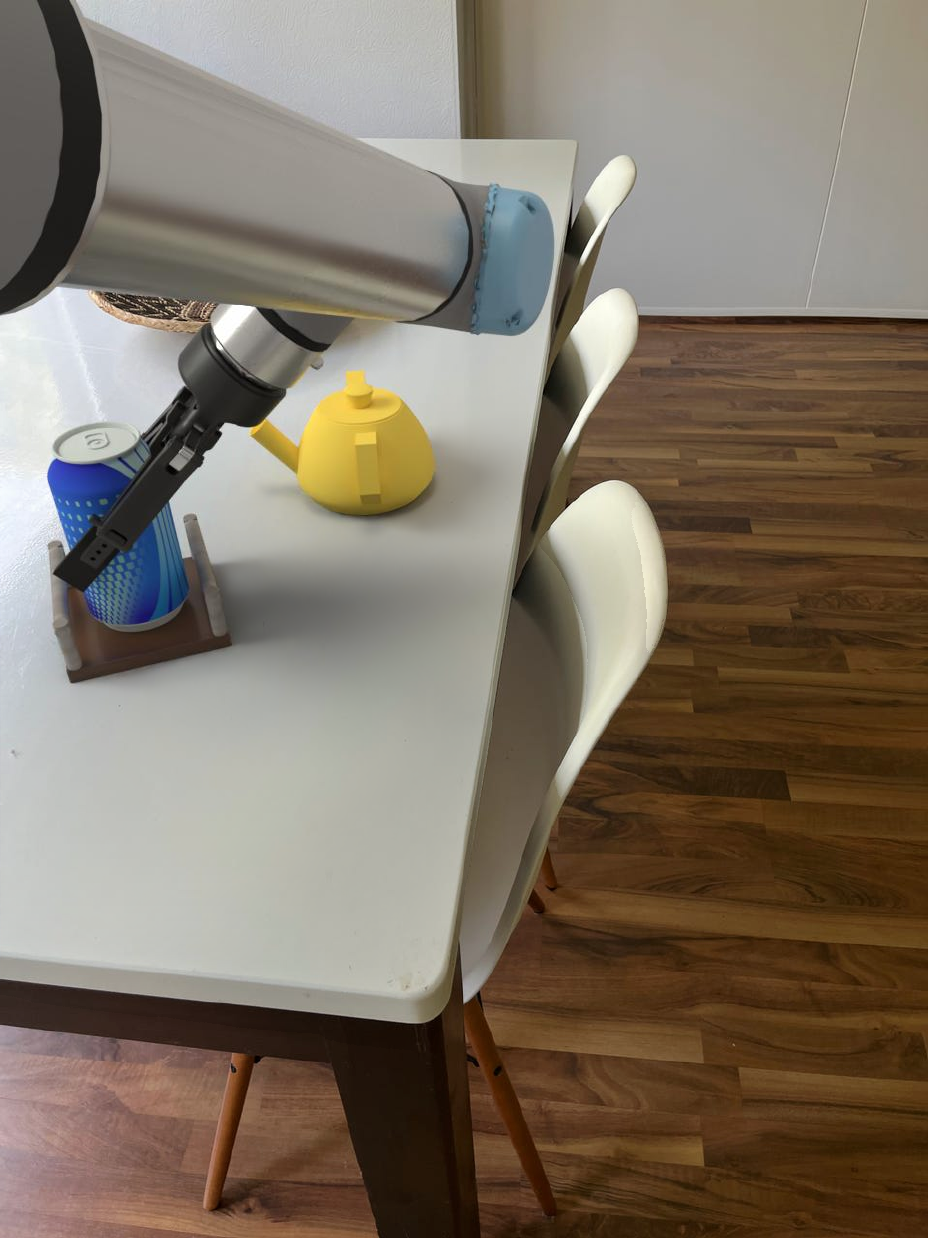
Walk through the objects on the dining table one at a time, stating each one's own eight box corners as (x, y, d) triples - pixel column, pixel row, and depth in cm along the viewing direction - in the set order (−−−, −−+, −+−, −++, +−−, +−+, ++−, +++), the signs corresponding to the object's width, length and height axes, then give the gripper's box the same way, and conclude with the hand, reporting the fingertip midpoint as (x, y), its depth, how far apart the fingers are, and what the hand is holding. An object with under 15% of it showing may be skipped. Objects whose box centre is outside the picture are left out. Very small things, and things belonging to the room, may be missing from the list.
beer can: (208, 586, 87) (172, 421, 78) (162, 644, 81) (116, 472, 71) (124, 574, 89) (78, 411, 79) (72, 630, 83) (15, 460, 73)
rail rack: (232, 645, 83) (220, 591, 79) (70, 684, 79) (51, 629, 76) (207, 563, 92) (196, 512, 89) (63, 594, 89) (45, 541, 86)
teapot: (259, 451, 110) (243, 357, 103) (422, 436, 112) (417, 342, 105) (259, 549, 94) (241, 445, 87) (449, 528, 96) (445, 425, 90)
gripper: (275, 456, 65) (91, 654, 75) (303, 334, 82) (150, 508, 91) (178, 383, 62) (-1, 600, 71) (228, 272, 78) (78, 459, 88)
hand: (84, 548), depth 81 cm, fingers closed on beer can, 8 cm apart
